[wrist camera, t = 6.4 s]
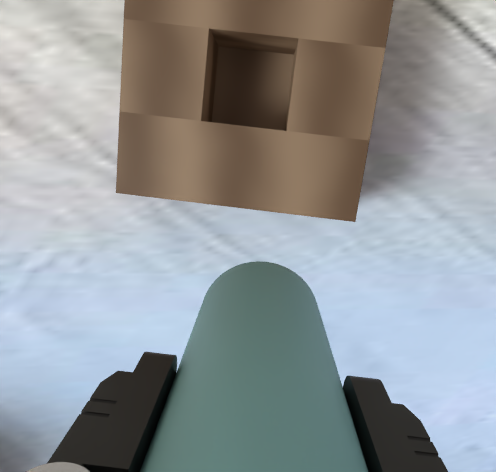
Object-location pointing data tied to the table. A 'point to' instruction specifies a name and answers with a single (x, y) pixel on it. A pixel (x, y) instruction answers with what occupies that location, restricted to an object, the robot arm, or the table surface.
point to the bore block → (250, 102)
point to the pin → (256, 384)
